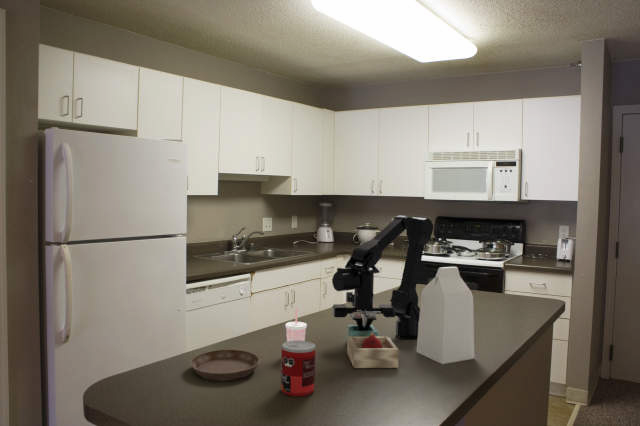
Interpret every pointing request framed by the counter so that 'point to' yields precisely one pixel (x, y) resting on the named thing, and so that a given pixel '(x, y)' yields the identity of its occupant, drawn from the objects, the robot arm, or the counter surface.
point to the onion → (372, 342)
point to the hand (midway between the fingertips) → (362, 338)
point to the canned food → (298, 368)
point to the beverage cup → (296, 330)
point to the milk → (446, 318)
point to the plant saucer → (224, 364)
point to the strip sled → (370, 350)
